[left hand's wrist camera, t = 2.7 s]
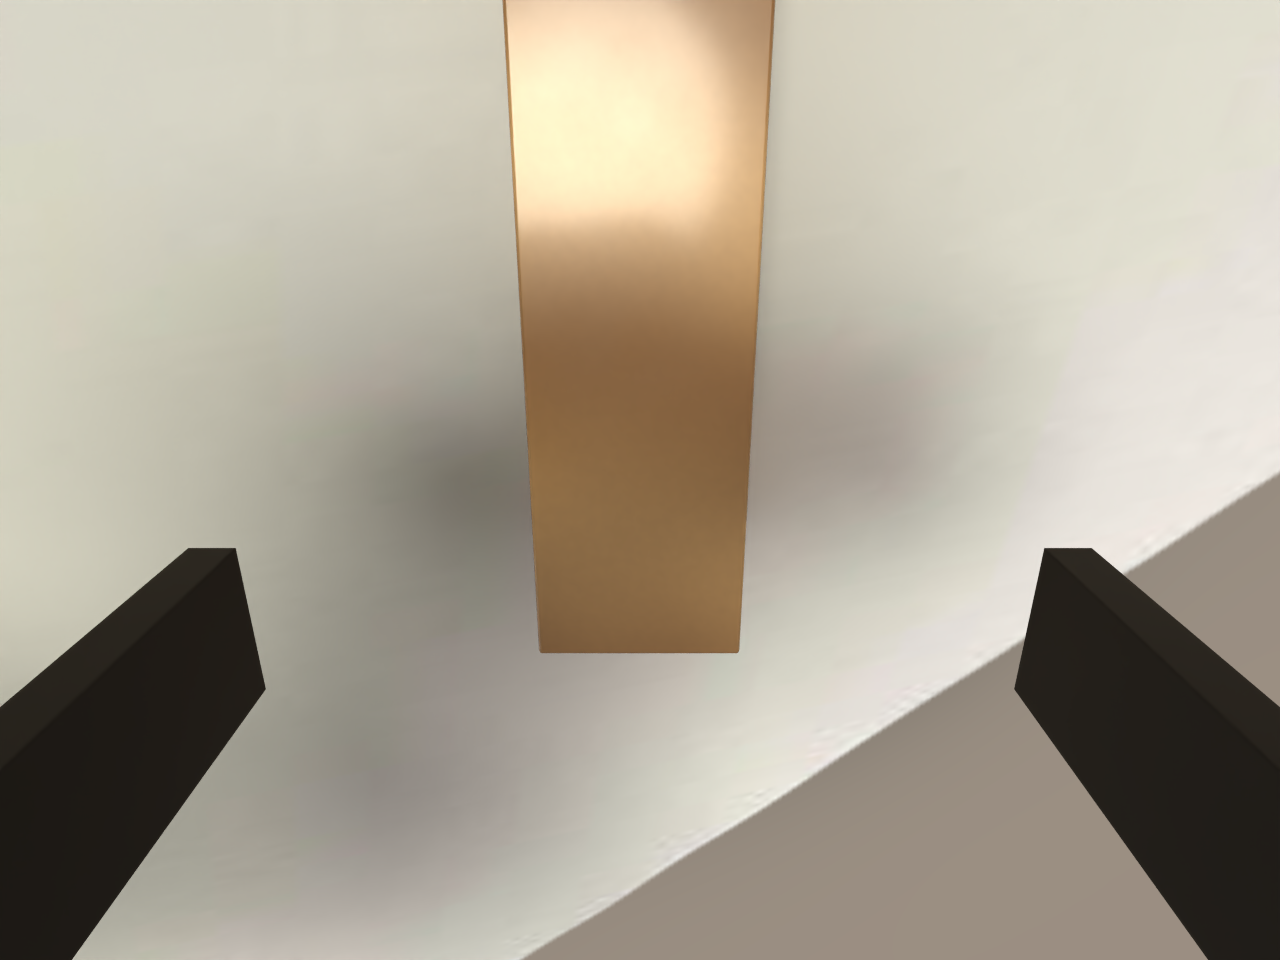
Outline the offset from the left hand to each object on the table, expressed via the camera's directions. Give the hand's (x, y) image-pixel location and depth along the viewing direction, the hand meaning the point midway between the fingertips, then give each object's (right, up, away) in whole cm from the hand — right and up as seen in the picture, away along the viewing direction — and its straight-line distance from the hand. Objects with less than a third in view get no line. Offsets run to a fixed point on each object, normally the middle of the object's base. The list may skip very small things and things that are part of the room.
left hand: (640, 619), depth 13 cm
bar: (0, +39, 0) cm, 39 cm away
